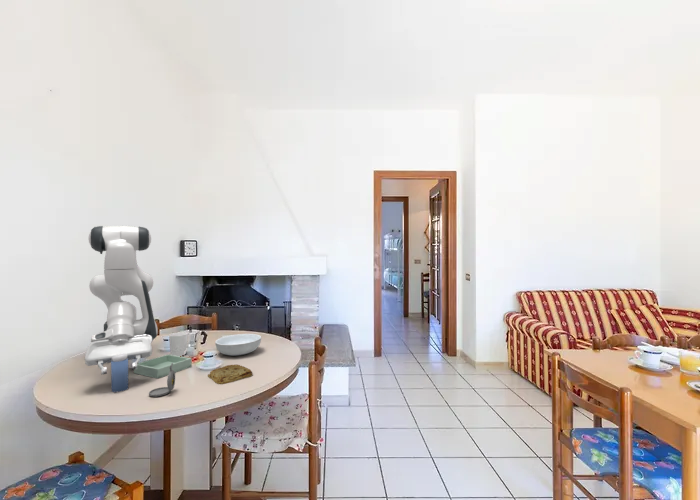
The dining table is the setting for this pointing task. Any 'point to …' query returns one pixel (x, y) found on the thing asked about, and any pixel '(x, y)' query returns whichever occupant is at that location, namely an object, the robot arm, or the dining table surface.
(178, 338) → the white cup
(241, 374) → the pastry
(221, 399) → the dining table surface
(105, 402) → the dining table surface
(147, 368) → the tray
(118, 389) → the shaker
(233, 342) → the serving bowl
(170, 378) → the pocket watch
